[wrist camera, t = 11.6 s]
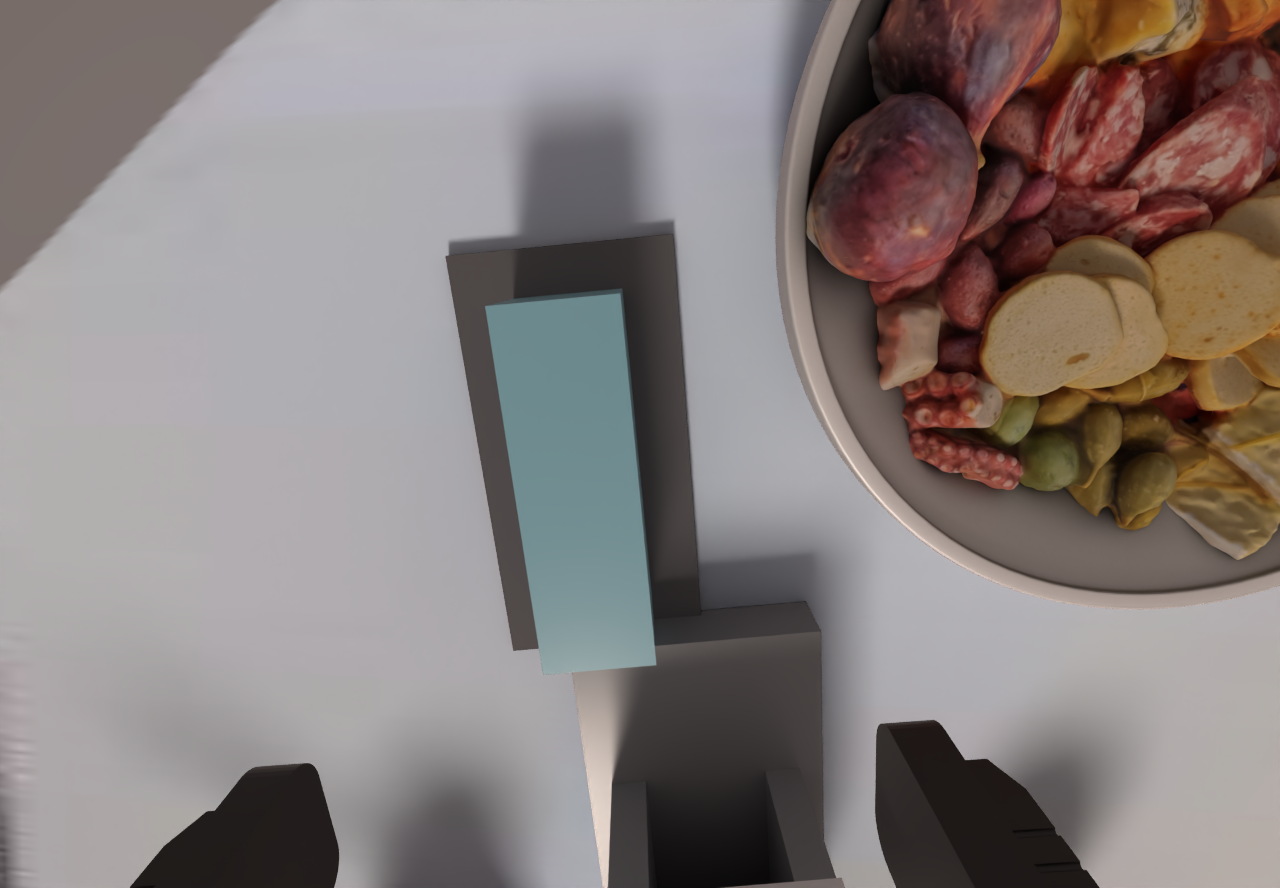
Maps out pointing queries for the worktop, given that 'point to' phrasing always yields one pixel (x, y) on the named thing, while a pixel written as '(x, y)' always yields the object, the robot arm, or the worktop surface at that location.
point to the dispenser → (711, 755)
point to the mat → (655, 389)
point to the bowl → (1048, 284)
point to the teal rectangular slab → (576, 476)
